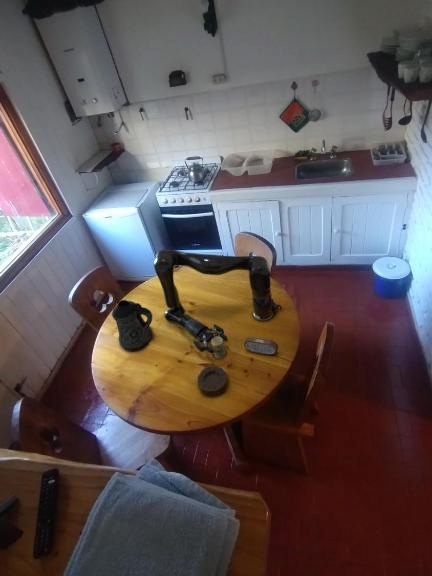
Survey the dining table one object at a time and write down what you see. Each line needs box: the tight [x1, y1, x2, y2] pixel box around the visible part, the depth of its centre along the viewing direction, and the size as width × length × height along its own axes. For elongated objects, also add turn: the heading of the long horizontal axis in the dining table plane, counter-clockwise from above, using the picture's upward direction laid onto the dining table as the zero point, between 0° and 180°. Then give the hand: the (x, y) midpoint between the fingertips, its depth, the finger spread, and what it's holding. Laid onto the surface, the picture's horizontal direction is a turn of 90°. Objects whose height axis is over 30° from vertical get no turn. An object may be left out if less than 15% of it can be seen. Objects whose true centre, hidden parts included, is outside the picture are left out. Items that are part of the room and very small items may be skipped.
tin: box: [243, 336, 279, 356], centre depth 153 cm, size 15×3×8 cm, turn 71°
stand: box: [197, 365, 229, 397], centre depth 145 cm, size 12×12×4 cm
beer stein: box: [111, 299, 153, 352], centre depth 166 cm, size 16×19×25 cm
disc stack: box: [210, 336, 227, 359], centre depth 155 cm, size 5×5×9 cm
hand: (220, 345), depth 153 cm, fingers open, 8 cm apart
